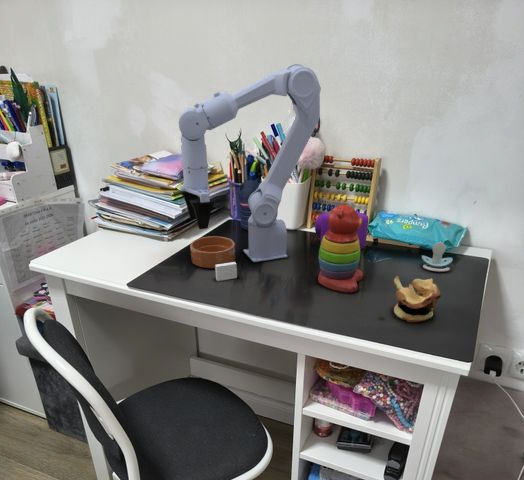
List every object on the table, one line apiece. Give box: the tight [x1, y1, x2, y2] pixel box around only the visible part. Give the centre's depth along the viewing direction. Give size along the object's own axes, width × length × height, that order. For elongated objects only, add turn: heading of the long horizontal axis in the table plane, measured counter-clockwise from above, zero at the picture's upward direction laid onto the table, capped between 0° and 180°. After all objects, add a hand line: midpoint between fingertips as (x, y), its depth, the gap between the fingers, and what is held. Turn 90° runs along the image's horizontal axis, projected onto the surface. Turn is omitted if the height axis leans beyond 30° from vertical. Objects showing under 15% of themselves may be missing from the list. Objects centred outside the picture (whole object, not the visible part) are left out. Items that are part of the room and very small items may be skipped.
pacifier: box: [421, 241, 454, 273], centre depth 121 cm, size 7×6×6 cm
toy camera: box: [314, 211, 369, 250], centre depth 131 cm, size 11×14×10 cm
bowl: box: [189, 235, 236, 269], centre depth 125 cm, size 11×11×4 cm
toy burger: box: [393, 275, 442, 323], centre depth 101 cm, size 12×10×8 cm
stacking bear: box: [317, 202, 364, 294], centre depth 112 cm, size 11×10×18 cm
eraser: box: [214, 261, 238, 282], centre depth 117 cm, size 1×5×4 cm, turn 111°
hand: (199, 223), depth 123 cm, fingers open, 7 cm apart
